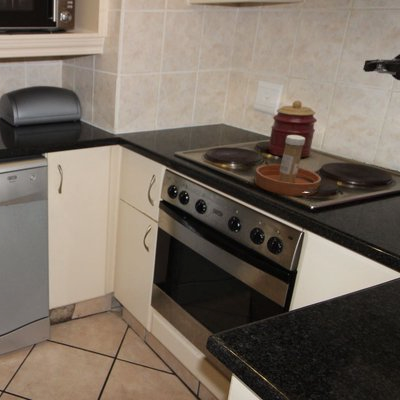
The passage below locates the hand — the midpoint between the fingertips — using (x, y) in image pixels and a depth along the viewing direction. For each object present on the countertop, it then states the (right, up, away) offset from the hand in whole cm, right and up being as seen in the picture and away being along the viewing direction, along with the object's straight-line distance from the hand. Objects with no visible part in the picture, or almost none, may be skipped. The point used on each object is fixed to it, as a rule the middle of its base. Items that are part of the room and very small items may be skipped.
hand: (384, 69), depth 120 cm
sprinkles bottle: (-18, -28, +14) cm, 36 cm away
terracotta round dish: (-18, -29, +14) cm, 37 cm away
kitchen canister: (-2, -17, +42) cm, 45 cm away
